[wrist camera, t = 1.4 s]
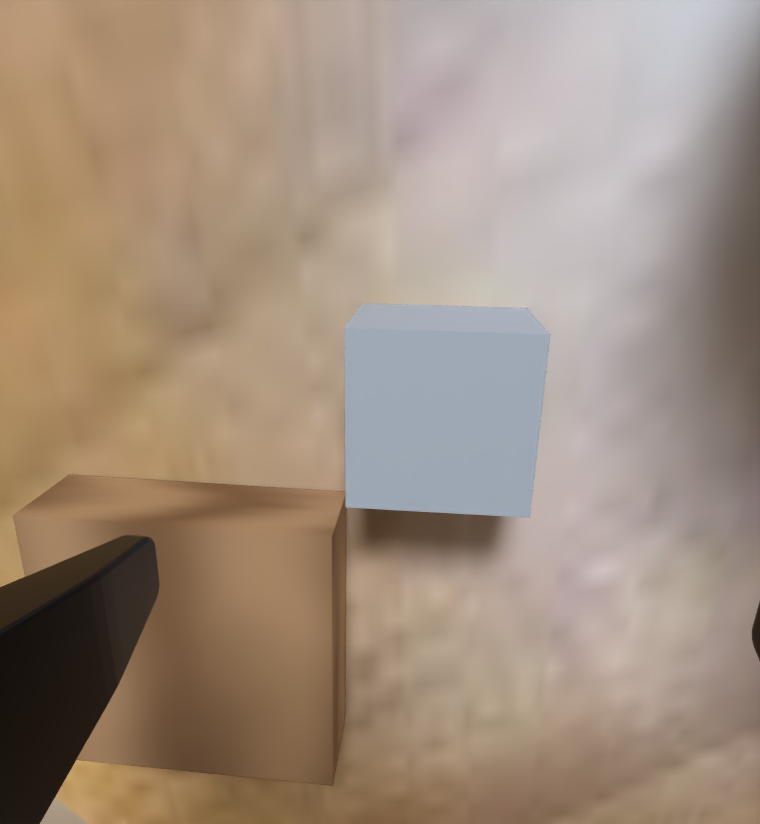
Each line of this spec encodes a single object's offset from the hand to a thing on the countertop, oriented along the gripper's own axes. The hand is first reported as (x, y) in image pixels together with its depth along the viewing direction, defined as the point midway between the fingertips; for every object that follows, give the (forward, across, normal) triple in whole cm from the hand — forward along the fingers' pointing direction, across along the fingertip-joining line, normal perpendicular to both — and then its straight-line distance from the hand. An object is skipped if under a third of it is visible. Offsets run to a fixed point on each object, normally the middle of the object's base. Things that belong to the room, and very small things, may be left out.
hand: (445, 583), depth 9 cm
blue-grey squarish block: (+11, 0, 0) cm, 11 cm away
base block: (+11, +8, +9) cm, 16 cm away
